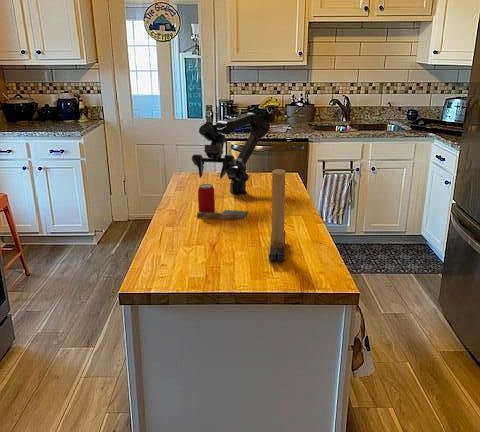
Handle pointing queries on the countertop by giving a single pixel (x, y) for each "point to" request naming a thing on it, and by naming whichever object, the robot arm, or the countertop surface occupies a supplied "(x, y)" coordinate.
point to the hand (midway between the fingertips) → (210, 177)
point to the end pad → (238, 213)
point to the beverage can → (206, 198)
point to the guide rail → (216, 215)
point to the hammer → (278, 216)
